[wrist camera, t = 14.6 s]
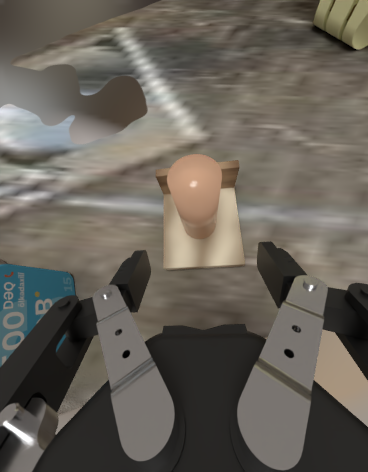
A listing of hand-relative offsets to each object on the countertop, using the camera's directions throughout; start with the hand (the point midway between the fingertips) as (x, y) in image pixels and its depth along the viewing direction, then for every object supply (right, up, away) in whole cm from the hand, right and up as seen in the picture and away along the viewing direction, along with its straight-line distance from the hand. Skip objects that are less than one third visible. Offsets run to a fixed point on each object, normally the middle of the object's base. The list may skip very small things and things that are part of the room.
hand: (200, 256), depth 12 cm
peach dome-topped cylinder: (+1, +4, +15) cm, 16 cm away
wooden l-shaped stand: (+2, +3, +17) cm, 17 cm away
